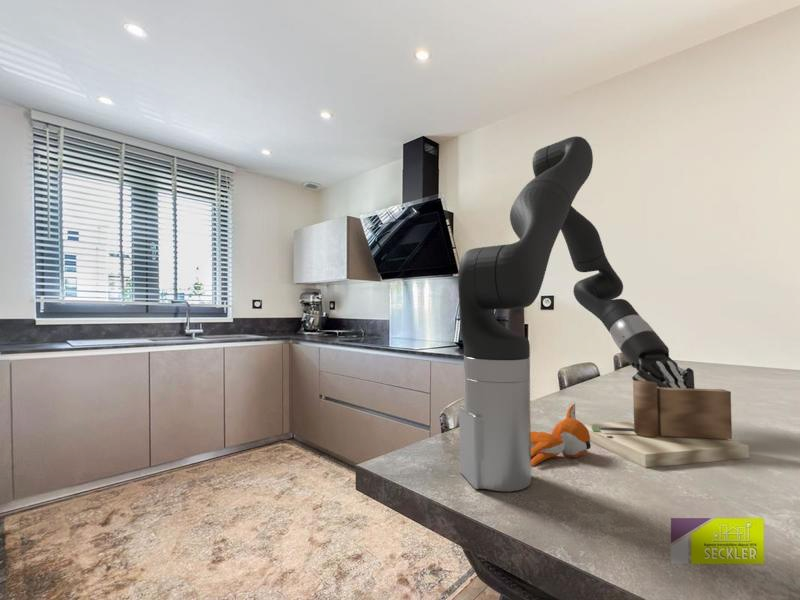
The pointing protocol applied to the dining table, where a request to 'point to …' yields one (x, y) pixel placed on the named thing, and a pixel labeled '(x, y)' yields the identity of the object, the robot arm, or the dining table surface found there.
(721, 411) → the brown piece
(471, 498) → the dining table surface
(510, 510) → the dining table surface
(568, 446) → the toy
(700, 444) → the light wood flat board
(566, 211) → the robot arm
